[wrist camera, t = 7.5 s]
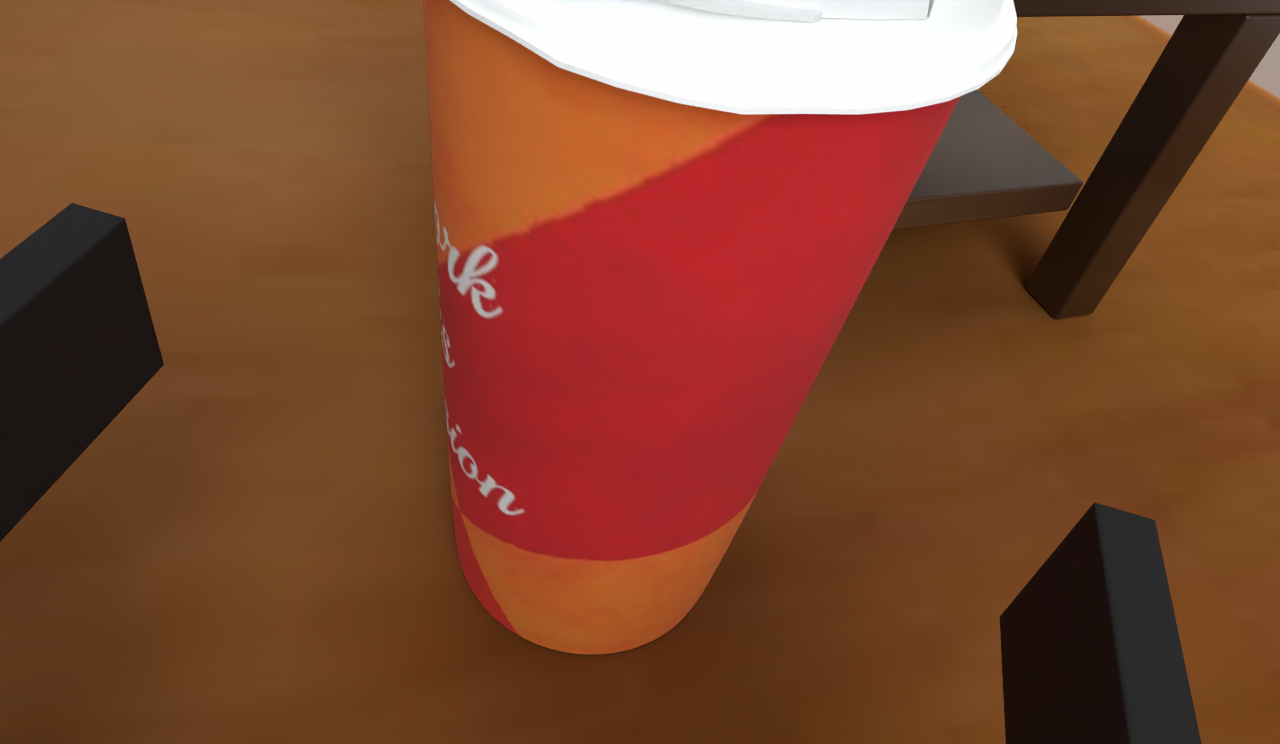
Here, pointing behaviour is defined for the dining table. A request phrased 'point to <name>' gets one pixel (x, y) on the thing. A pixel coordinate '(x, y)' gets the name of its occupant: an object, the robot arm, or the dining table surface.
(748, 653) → the dining table surface
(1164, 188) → the rack
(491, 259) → the paper cup
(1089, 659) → the robot arm
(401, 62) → the dining table surface
